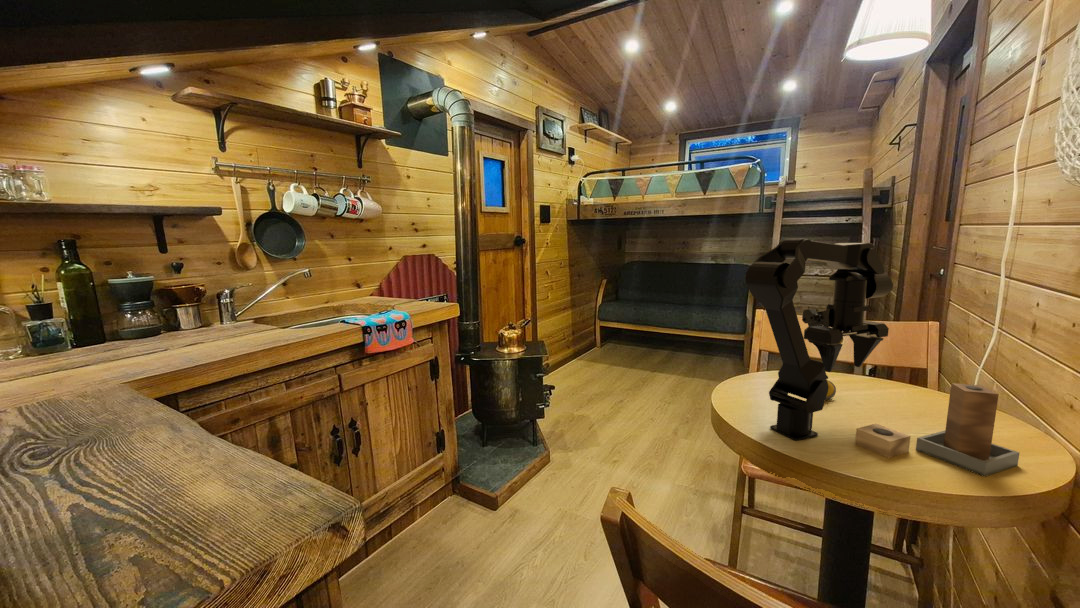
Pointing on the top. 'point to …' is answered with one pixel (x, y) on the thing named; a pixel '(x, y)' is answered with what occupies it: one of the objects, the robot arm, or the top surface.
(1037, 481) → the top surface
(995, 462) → the tray
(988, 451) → the tall block
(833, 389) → the grey yellow round piece
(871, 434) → the short block
